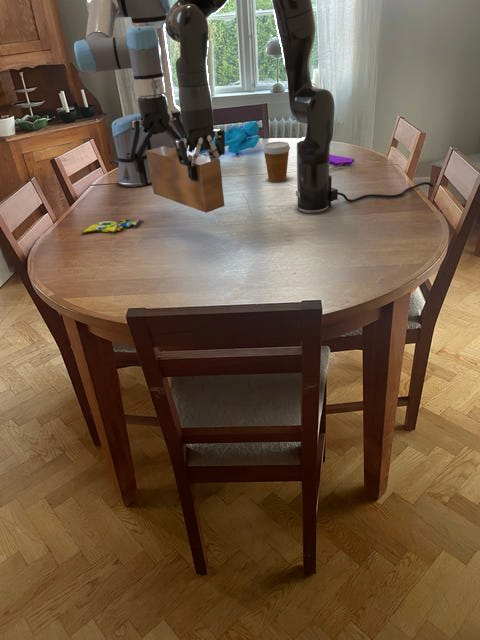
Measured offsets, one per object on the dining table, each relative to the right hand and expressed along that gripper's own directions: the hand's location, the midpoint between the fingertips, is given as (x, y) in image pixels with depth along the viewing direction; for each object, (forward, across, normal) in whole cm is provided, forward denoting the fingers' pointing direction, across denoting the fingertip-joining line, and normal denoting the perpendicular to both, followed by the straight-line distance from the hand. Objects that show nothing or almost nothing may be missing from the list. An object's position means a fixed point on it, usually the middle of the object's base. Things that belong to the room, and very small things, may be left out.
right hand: (204, 176), depth 122 cm
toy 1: (+17, -14, +32) cm, 39 cm away
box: (+8, 0, +10) cm, 12 cm away
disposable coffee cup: (+18, +49, +24) cm, 57 cm away
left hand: (+3, 0, +20) cm, 20 cm away
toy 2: (+18, +63, +70) cm, 95 cm away
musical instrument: (+18, +73, +24) cm, 79 cm away
